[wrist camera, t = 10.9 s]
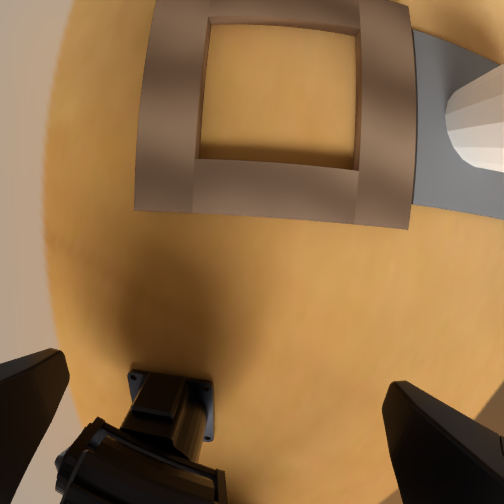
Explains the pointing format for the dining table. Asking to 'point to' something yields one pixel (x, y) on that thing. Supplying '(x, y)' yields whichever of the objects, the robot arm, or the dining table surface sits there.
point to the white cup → (479, 121)
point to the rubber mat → (437, 139)
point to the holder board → (270, 173)
